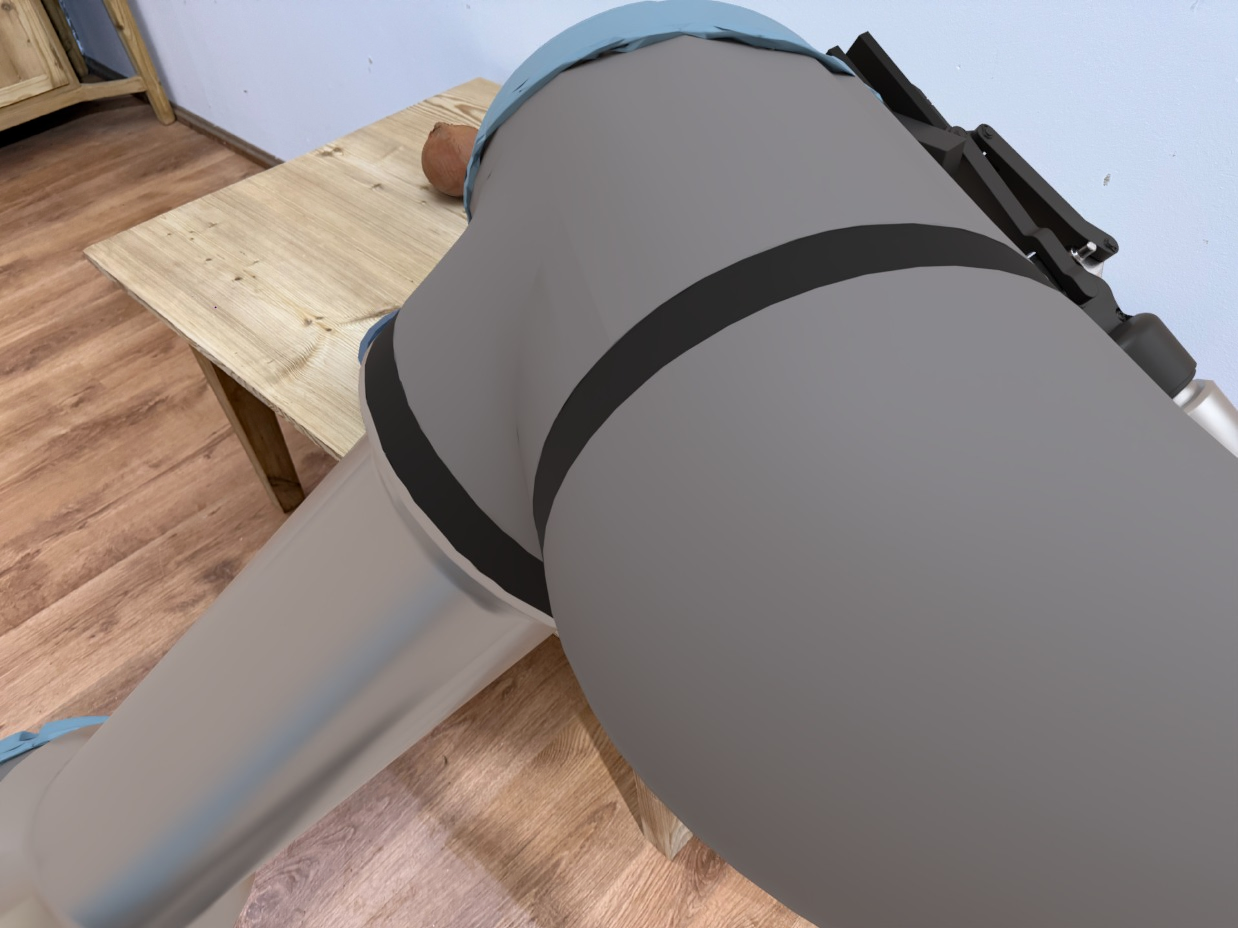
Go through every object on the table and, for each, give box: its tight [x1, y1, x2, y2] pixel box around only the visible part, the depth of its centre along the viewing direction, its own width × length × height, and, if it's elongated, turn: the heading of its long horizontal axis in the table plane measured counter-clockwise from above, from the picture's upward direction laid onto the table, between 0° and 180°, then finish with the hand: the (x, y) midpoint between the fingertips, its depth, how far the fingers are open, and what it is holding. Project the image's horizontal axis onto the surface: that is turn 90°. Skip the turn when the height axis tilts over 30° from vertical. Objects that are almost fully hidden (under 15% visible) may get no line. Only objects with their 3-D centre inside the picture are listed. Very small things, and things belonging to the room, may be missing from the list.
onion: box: [420, 121, 479, 199], centre depth 108 cm, size 10×9×10 cm
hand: (834, 60), depth 44 cm, fingers closed on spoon, 2 cm apart
